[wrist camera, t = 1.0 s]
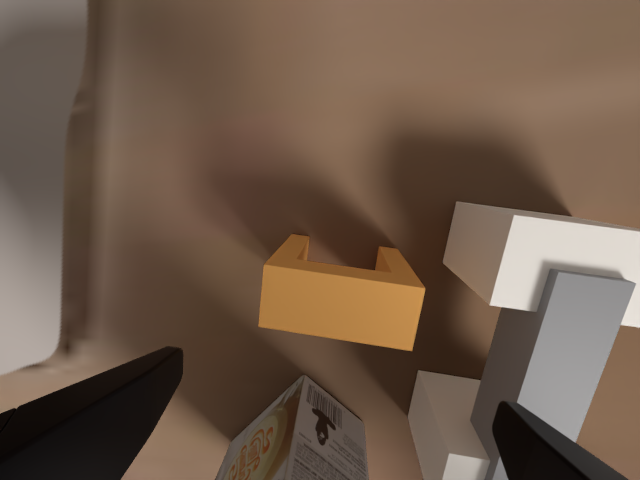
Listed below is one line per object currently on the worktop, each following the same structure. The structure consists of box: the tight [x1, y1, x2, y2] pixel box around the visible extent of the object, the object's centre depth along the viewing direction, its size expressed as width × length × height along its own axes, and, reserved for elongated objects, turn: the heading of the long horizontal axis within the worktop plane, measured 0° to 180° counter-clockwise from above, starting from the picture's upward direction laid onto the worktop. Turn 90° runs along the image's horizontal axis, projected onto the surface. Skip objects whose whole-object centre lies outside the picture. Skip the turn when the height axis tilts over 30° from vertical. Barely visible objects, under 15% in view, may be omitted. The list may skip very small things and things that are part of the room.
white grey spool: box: [408, 201, 640, 480], centre depth 17 cm, size 16×7×7 cm, turn 173°
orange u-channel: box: [258, 234, 426, 351], centre depth 17 cm, size 7×3×7 cm, turn 83°
